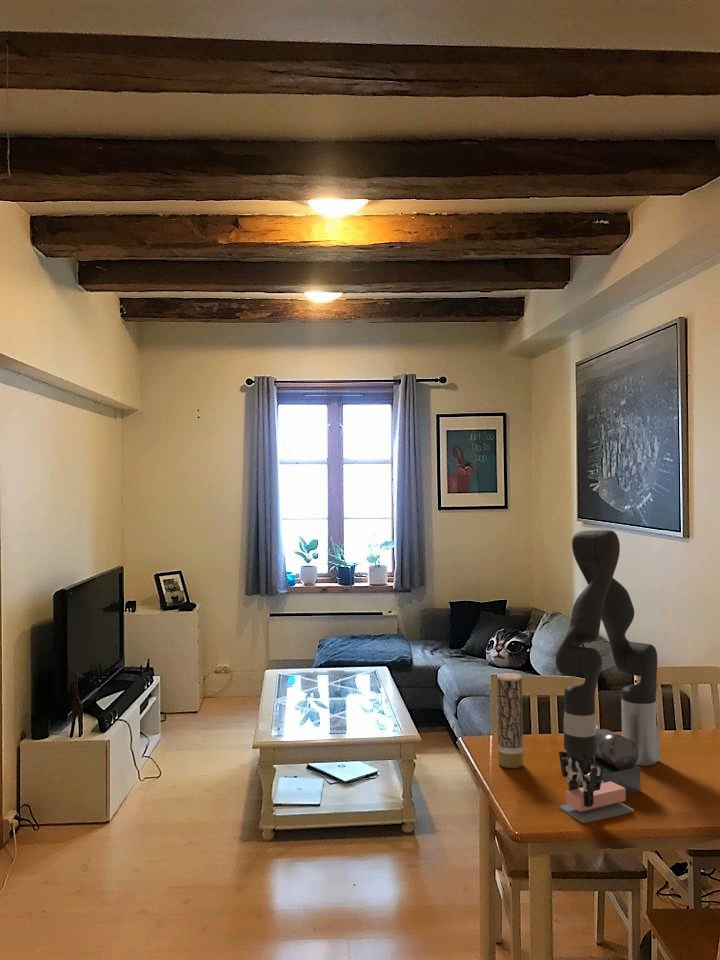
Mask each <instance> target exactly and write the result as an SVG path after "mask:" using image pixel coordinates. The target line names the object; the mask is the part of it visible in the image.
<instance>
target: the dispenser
mask: <svg viewBox="0 0 720 960" xmlns="http://www.w3.org/2000/svg"><path fill="white" fill-rule="evenodd" d="M596 746H597V750H596V752H595V753H594V755H593V756H594V757H595V758H593V759H594V762H595V765H596V766H597V767H602V768H603V775H602V781H601V783H605V782H610V781H611V782H613V783H615V784H618V785H620V786H622V787H624V788H625V789H626V795H627V794H630V793H635V792H641V766H640V765H636V763H637V760H638V757H639V750H638V747H637V745H636V743H635V742H634V741H632V740H630V739H628V738H625V737H623V736H622V734H618V733H615V732H614V731H612V730H609V729H605V728H601V729H599V730H598V731H597V732H596ZM587 776H589V774H588V775H584V777H587ZM577 782H578V786H579V785H580V786H579V787H583V784H582V781H580V778H579V777H578V780H577ZM595 784H596V783H595ZM595 784H594V785H595ZM587 785H589V780H587Z"/></svg>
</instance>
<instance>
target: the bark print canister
mask: <svg viewBox="0 0 720 960" xmlns="http://www.w3.org/2000/svg"><path fill="white" fill-rule="evenodd" d="M496 676H497V677H496V678H497V679H496V683H497V685H496V687H497V691H496V692H497V693H496V694H497V698H496V699H497V751H498V755H497V756H498V757H497V759H498V764H499V765H500V766H501V767H503V768H504V769H505V768H506V769H518V768H521V767H523V765H524V758H523V757H524V747H523V746H524V743H523V739H524V737H523V735H524V734H523V733H524V732H523V731H524V730H523V680H522V679H523V677H522V675H521V674H519V673H515V672H503V673H498V674H497V675H496Z"/></svg>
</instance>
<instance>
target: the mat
mask: <svg viewBox="0 0 720 960" xmlns="http://www.w3.org/2000/svg"><path fill="white" fill-rule="evenodd" d="M558 809H559V810H561V811H562V810H563V812H564V813H566V814H567V815H568V816H570V817H572V818H574V819H575V820H577V821H578V822H580V823H582V824H587V823H590V822H596V821H600V820H605V819H609V818H613V817H618V816H622V814H623V815H627V814H626V813H628V814H631V813H630V812H633V811H634V812H635V809H634V808H631V807H630V806H628V805H626V804H625V803H623V802H618V803H614V804H610V805H605V806H601V807H597V808H593V809H589V810H584V811H578V810H577V809H575V808H573V807H571V806H569V805H567V804H566V803H565V804H563V805H559V806H558ZM634 812H633V813H634Z"/></svg>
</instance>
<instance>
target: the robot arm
mask: <svg viewBox="0 0 720 960" xmlns="http://www.w3.org/2000/svg"><path fill="white" fill-rule="evenodd" d="M571 540H572V541H571V548H572V553H573V557H574V559H575V562H576V564H577V566H578V568H579V571H580V572H581V573H582V576H583V577H584V579H585V582H586V583H587V586H586V587H584V589H583V591H582V592H581V593H580V594H578V597H577V598H576V600H575V602H574V605H573V606H572V607H573V608H572V612H571V618H570V622H569V627H568V629H567V633H566V634H565V637H564V638H563V641H562V642H561V645H560V647H559V648H558V650H557V652H556V655H555V665H556V669H557V671H558V672H559V673H560V674H561V675H564V676H570V677H577V678H583V679H584V682H583V683H581V684H572V685H568V686H566V687H565V688H564V693H563V696H564V697H563V698H564V710H563V711H564V714H563V748H564V750H561V751H558V756H559V762H560V769H561V775H562V777H563V778H566V781H567V782H568V791H569V790H575V789H578V788H579V785H578V782H577V780H578V777H579V778H580V781H582V784H583V786H582V788H584V791H583V797H584V806H585V807H591V806H593V803H594V799H593V798H594V795H593V792H594V791H597V790H600V786H601V781H602V775H603V768H602V767H597V766H596V765H595V762H594V759H593V755H594V753H595V752H596V750H597V746H596V725H597V720H596V706H595V705H596V703H595V702H596V697H595V695H596V691H597V684H598V681H599V678H600V677H599V676H600V674H601V671H602V667H603V666H602V665H603V658H602V656H601V654H600V652H599V650H597V649H596V648H594V647H583V646H581V645H583V644H586V643H593V642H595V641H596V640H598V638H599V635H600V628H601V623H602V624H603V626H604V630H605V633H606V635H607V637H608V641H609V645H610V649H611V653H612V658H613V661H614V664H615V667H616V668H617V670H618V671H619V672H620V673H622V674H625V675H629V676H636V677H640V681H639V682H638V683H636V684H630V685H626V686H624V687H623V688H622V689H621V693H620V694H621V698H620V702H621V736H623V737H625V738H628V739H630V740H632V741H634V742H635V743H636V745H637V747H638V750H639V757H638V760H637V763H636V766H644V767H645V766H646V767H647V766H653V765H656V764H657V763H658V762H660V727H659V726H657V690H658V689H657V688H658V687H657V685H658V683H657V681H658V680H657V679H658V653H657V649H656V647H655V646H654V645H653V644H650V643H642V642H635V641H630V640H628V638H627V637H626V633H627V631H628V630H629V628H630V626H631V624H632V622H633V621H634V618H635V608H634V605H633V601H632V600H631V597H630V594H629V592H628V590H627V589H626V588H625V586H623V585H622V584H621V583H620V582H619V581H618V580H616V579H615V578H614V576H615V572H616V569H617V565H618V563H619V562H618V561H619V559H620V558H619V557H620V552H621V548H620V547H621V545H620V540H619V537H618V535H617V533H616V532H615V531H613V530H611V529H601V530H600V529H599V530H598V529H597V530H596V529H595V530H594V529H593V530H592V529H591V530H580V531H578V532H576V533H575V534H574V535H573V537H572V539H571ZM566 767H567V768H566ZM588 774H589V776H587V777H584V775H588ZM587 780H589V785H587ZM595 783H596V784H595Z"/></svg>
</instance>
